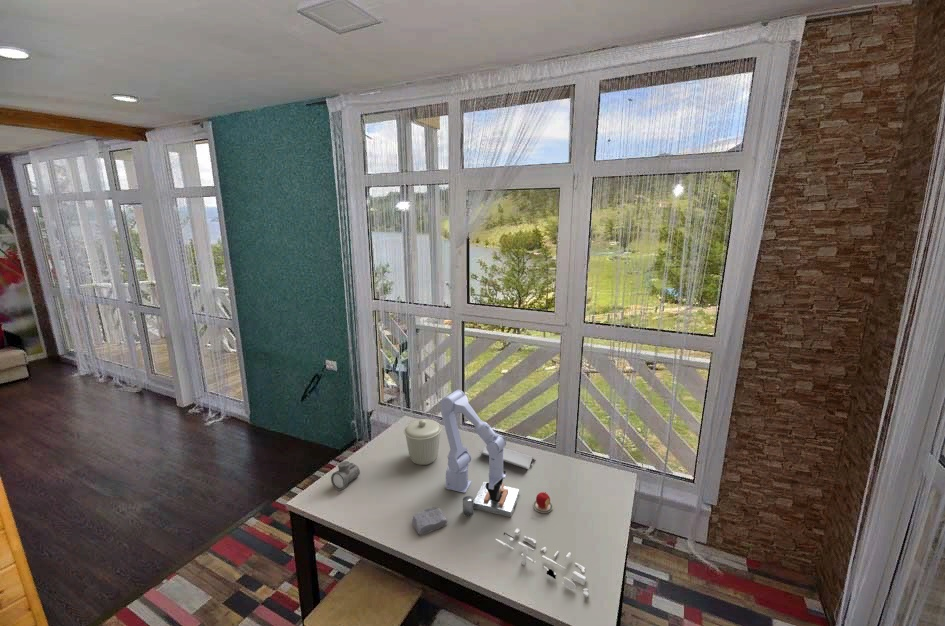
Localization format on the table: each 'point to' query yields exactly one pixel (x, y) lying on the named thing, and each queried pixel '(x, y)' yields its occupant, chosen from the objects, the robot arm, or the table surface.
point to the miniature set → (567, 582)
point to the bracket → (501, 502)
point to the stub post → (468, 506)
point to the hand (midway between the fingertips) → (495, 493)
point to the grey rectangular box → (498, 493)
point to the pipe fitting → (344, 474)
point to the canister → (423, 440)
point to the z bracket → (513, 457)
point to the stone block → (428, 520)
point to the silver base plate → (494, 505)
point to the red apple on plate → (543, 503)
